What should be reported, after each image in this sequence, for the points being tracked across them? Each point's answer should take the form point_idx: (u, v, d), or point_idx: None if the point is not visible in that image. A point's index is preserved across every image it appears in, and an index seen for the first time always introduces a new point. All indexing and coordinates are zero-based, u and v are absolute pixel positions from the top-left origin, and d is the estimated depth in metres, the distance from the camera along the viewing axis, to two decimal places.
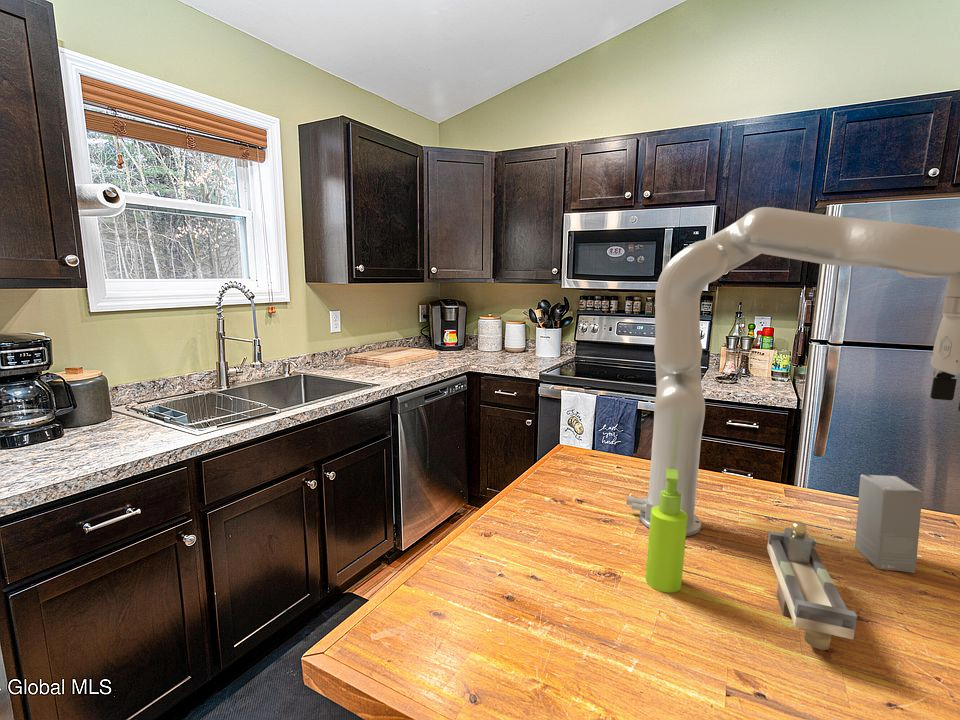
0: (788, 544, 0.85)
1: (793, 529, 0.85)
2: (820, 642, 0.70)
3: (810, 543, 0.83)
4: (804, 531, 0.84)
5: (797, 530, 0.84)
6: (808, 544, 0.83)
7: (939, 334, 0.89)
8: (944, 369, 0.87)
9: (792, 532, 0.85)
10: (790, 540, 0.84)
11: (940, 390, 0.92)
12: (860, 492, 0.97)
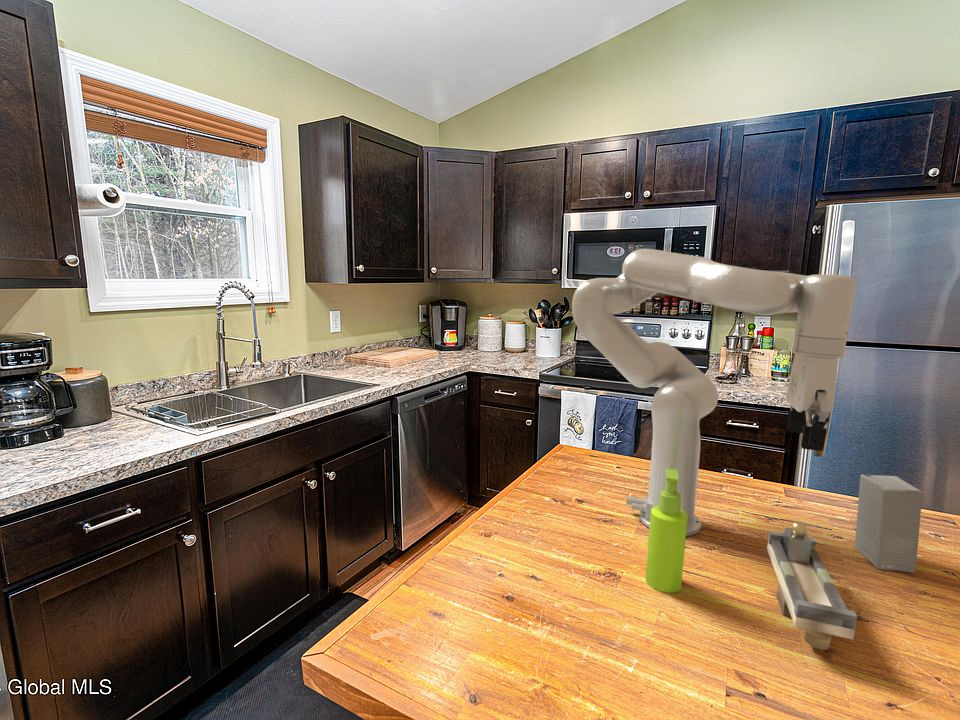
0: (788, 544, 0.85)
1: (793, 529, 0.85)
2: (820, 642, 0.70)
3: (810, 543, 0.83)
4: (804, 531, 0.84)
5: (797, 530, 0.84)
6: (808, 544, 0.83)
7: (792, 369, 0.91)
8: (792, 405, 0.88)
9: (792, 532, 0.85)
10: (790, 540, 0.84)
11: (795, 423, 0.93)
12: (860, 492, 0.97)
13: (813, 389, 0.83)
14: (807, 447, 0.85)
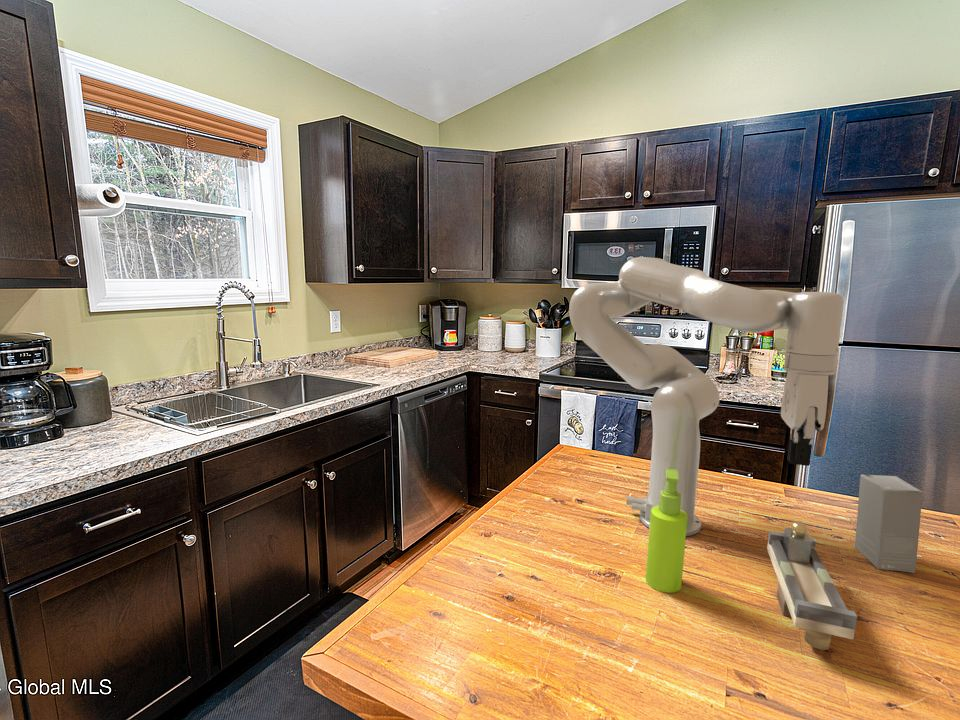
0: (788, 544, 0.85)
1: (793, 529, 0.85)
2: (820, 642, 0.70)
3: (810, 543, 0.83)
4: (804, 531, 0.84)
5: (797, 530, 0.84)
6: (808, 544, 0.83)
7: (785, 386, 0.91)
8: (785, 422, 0.88)
9: (792, 532, 0.85)
10: (790, 540, 0.84)
11: None
12: (860, 492, 0.97)
13: (805, 406, 0.84)
14: (794, 462, 0.89)
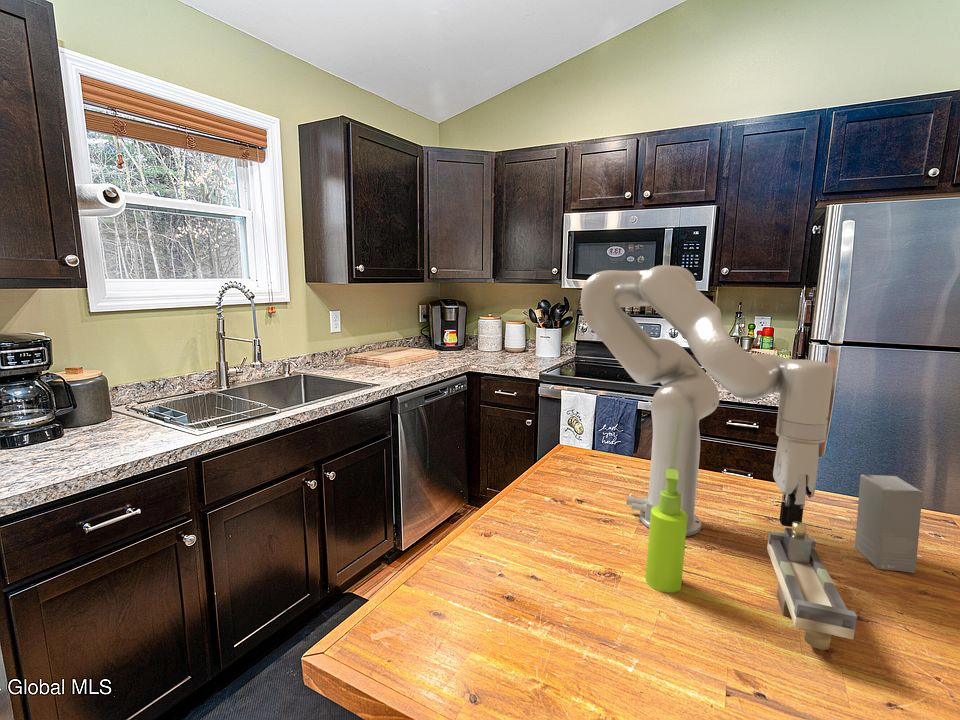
0: (788, 544, 0.85)
1: (793, 529, 0.85)
2: (820, 642, 0.70)
3: (810, 543, 0.83)
4: (804, 531, 0.84)
5: (797, 530, 0.84)
6: (808, 544, 0.83)
7: (777, 448, 0.93)
8: (777, 485, 0.91)
9: (792, 532, 0.85)
10: (790, 540, 0.84)
11: None
12: (860, 492, 0.97)
13: (796, 473, 0.86)
14: (786, 524, 0.91)
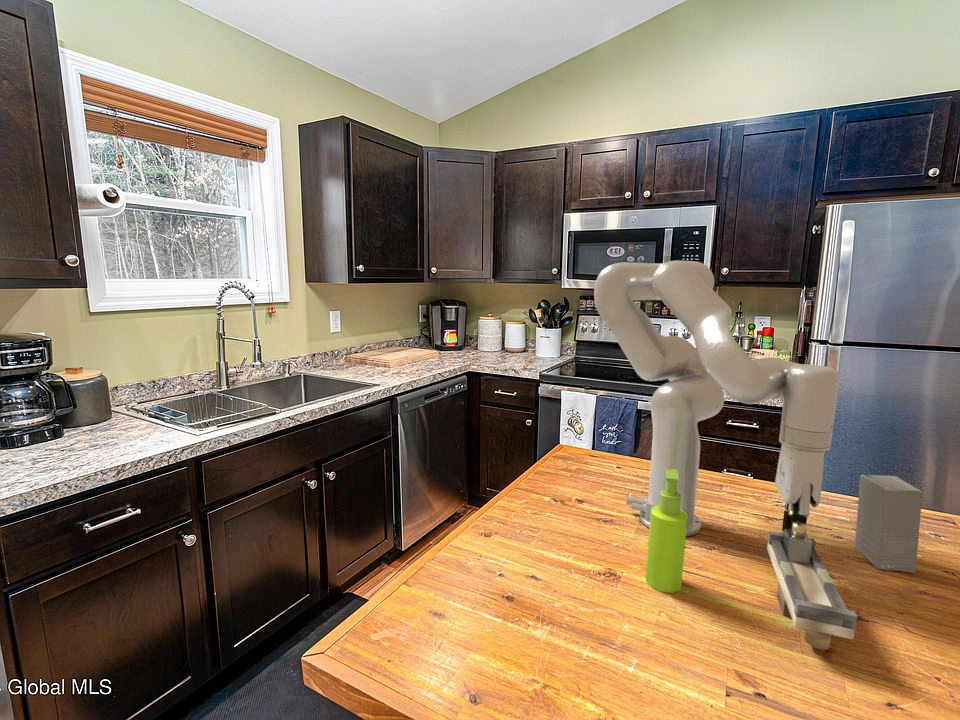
0: (788, 544, 0.84)
1: (793, 529, 0.85)
2: (820, 642, 0.70)
3: (810, 543, 0.83)
4: (804, 531, 0.84)
5: (797, 530, 0.84)
6: (808, 545, 0.83)
7: (780, 455, 0.90)
8: (780, 494, 0.88)
9: (792, 532, 0.85)
10: (790, 540, 0.84)
11: None
12: (860, 492, 0.97)
13: (800, 482, 0.83)
14: None
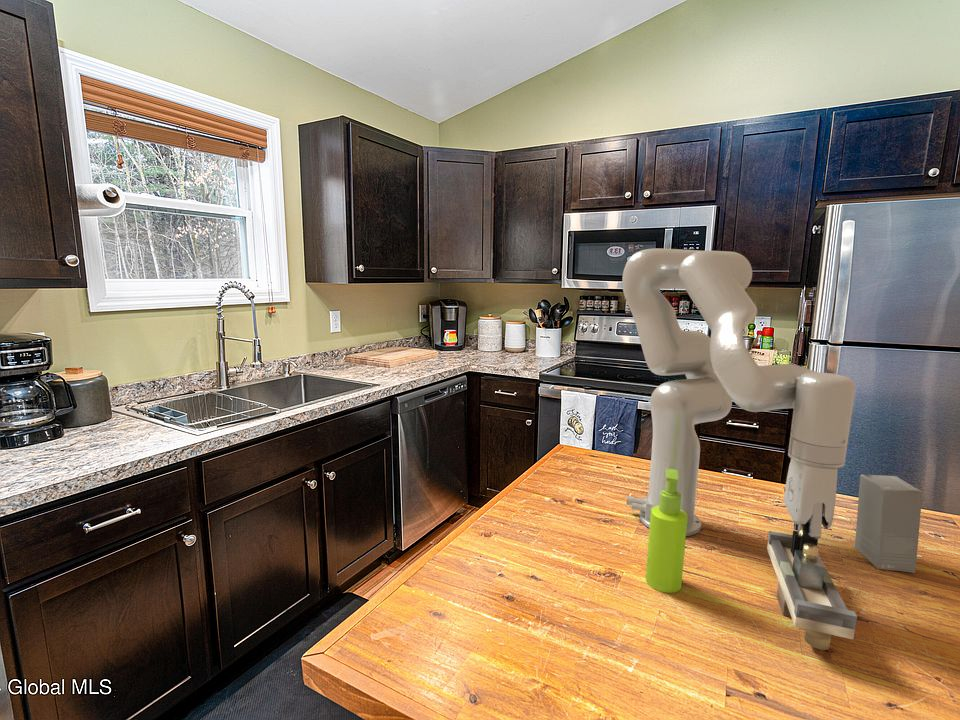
0: (799, 568, 0.77)
1: (804, 552, 0.78)
2: (820, 642, 0.70)
3: (823, 568, 0.76)
4: (816, 554, 0.77)
5: (809, 553, 0.77)
6: (821, 569, 0.76)
7: (789, 470, 0.83)
8: (789, 512, 0.81)
9: (803, 555, 0.78)
10: (801, 564, 0.77)
11: None
12: (860, 492, 0.97)
13: (811, 501, 0.76)
14: None
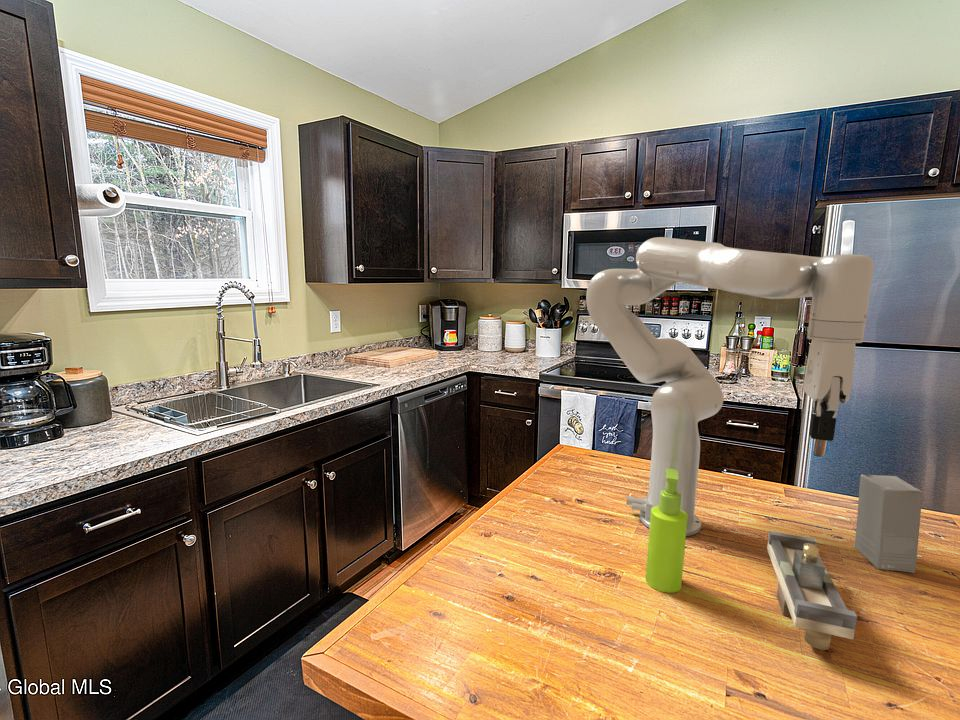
0: (799, 569, 0.77)
1: (804, 552, 0.78)
2: (820, 642, 0.70)
3: (823, 568, 0.76)
4: (816, 554, 0.77)
5: (809, 553, 0.77)
6: (821, 569, 0.76)
7: (808, 357, 0.86)
8: (808, 394, 0.83)
9: (803, 555, 0.78)
10: (801, 564, 0.77)
11: None
12: (860, 492, 0.97)
13: (829, 376, 0.79)
14: (817, 437, 0.84)
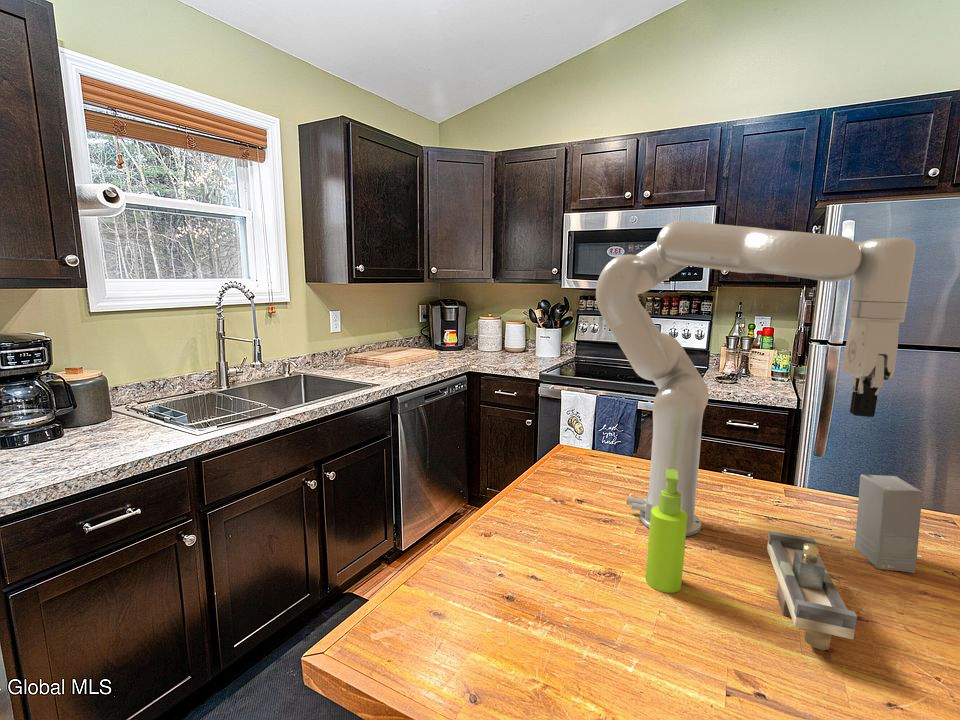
0: (799, 569, 0.77)
1: (804, 552, 0.78)
2: (820, 642, 0.70)
3: (823, 568, 0.76)
4: (816, 554, 0.77)
5: (809, 553, 0.77)
6: (821, 569, 0.76)
7: (848, 337, 0.90)
8: (850, 372, 0.87)
9: (803, 555, 0.78)
10: (801, 564, 0.77)
11: None
12: (860, 492, 0.97)
13: (874, 354, 0.82)
14: (858, 414, 0.88)
